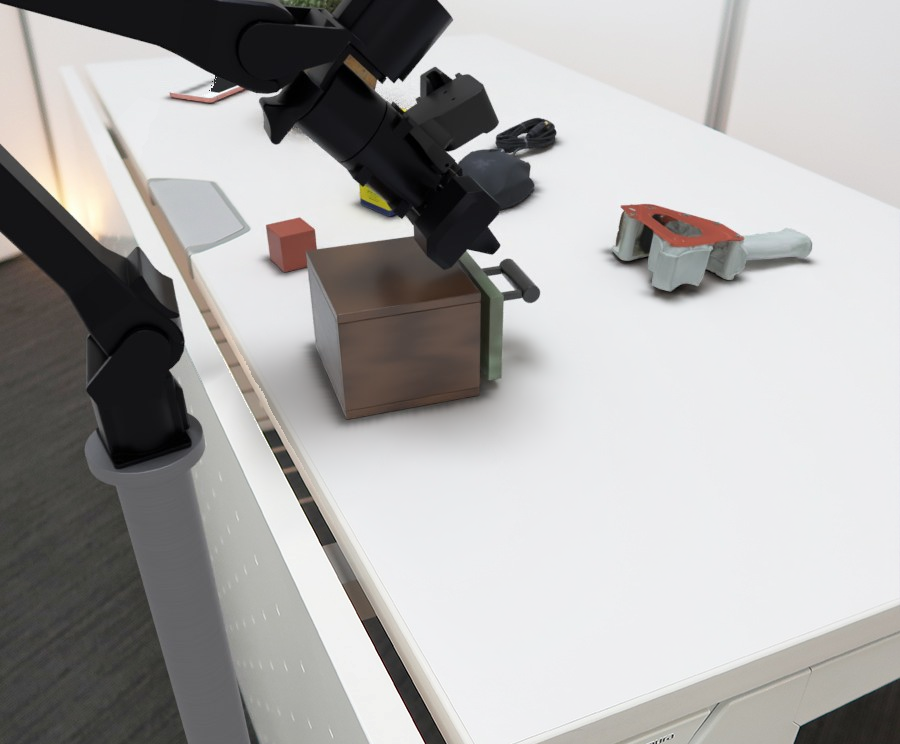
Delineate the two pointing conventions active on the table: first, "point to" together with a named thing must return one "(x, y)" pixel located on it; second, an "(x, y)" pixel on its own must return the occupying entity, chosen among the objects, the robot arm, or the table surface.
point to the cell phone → (213, 91)
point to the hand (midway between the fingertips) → (495, 248)
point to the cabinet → (393, 326)
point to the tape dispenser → (696, 245)
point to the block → (290, 243)
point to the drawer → (496, 306)
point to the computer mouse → (508, 162)
